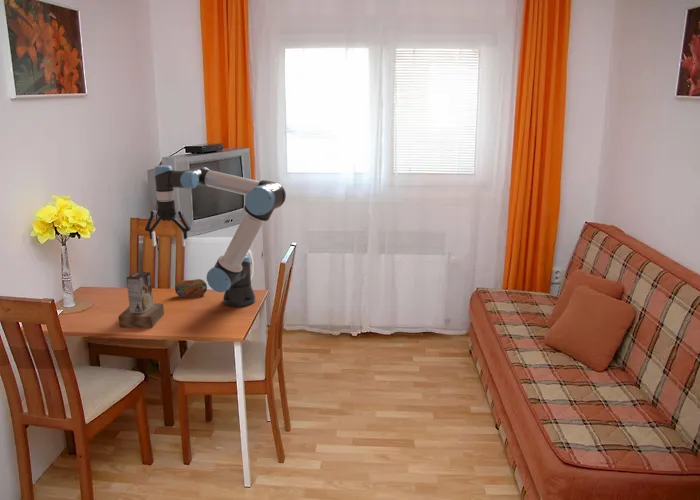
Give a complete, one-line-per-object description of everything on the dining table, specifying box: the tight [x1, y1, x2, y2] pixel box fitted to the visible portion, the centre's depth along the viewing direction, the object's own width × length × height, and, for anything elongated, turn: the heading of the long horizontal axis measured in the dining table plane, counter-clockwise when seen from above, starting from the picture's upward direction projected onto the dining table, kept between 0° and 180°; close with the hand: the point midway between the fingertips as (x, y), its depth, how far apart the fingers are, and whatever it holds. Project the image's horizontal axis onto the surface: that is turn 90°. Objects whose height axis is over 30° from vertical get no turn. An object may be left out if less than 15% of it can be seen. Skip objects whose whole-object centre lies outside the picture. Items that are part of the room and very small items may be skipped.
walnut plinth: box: [117, 303, 165, 329], centre depth 258 cm, size 14×16×5 cm
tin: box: [174, 278, 208, 298], centre depth 290 cm, size 15×3×8 cm, turn 101°
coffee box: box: [126, 271, 154, 314], centre depth 255 cm, size 9×6×16 cm
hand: (169, 245), depth 271 cm, fingers open, 13 cm apart
